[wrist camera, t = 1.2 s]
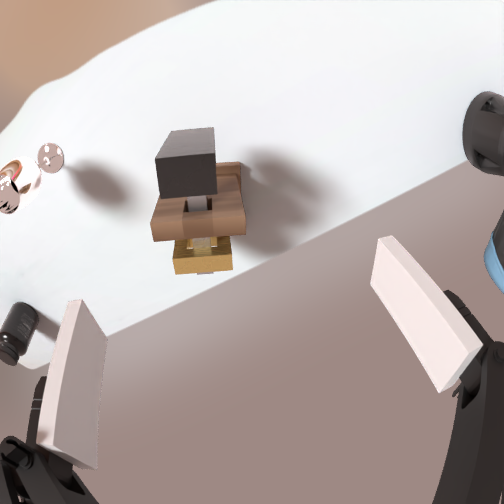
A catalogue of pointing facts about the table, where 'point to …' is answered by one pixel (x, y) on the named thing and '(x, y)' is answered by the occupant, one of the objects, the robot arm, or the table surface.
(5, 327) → the supplement bottle
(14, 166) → the wineglass
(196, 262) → the block
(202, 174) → the grey hammer
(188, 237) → the bearing frame
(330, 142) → the table surface
